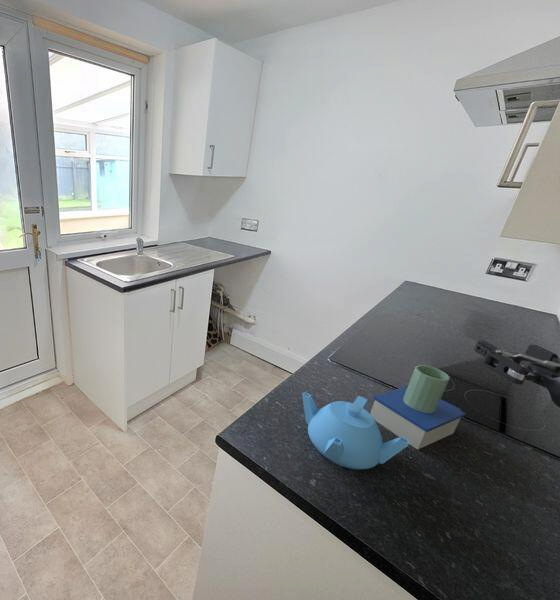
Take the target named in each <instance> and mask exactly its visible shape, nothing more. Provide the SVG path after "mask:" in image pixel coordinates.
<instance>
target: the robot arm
mask: <svg viewBox="0 0 560 600" xmlns="http://www.w3.org/2000/svg"><path fill="white" fill-rule="evenodd" d="M473 350H474V352H476V353H477V354H479V355H481V356H482V357H483V360H482V362H481V365H482V366H484V367H485V368H488V369H490V370H491V371H493V372H494V373H495V374H498V375H499V376H501V377H502V378H505V379H507V380H508V381H510V382H511V383H513V384H515V385H519V386H520V385H521V386H522V385H523V384H524V382H525V381H528V382H531V383H532V384H533V385H535V386H537V387H541V388H543V389H547V391H548V393H549V396H550V399H551V401H552V402H553V404H554V405H555V406H556V407H558V408H560V354H558V353H554V352H553V351H551V350H549V349H546V348H544V347H542V346H539V345H537V344H529V345H528V347H527V349H526V350H525V352H524V354H523V353H517V354H514V353H510V352H507V351H504V350H502V349H500V348H499V347H497V346H495V345H493V344H491V343H489V342H487V341H485V340H477V342H476V344H475V346H474V348H473ZM523 362H527V364H526V366H525V365H523V364H522V363H523Z"/></svg>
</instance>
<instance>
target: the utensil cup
mask: <svg viewBox="0 0 560 600" xmlns="http://www.w3.org/2000/svg"><path fill="white" fill-rule="evenodd" d="M450 377H451V376H449V373H446V372H445V371H443V370H441V369H439V368H436V367H433V366H430V365H425V364H418V365H416V366H415V367H414V370H413V373H412V375H411V378H410V380H409V382H408V385H407V386H408V387H407V390H406V392H405V395H404V398H403V401H404V402H405V404H406V405H408V406H409V407H411V408H413V409H415V410H417V411H419V412H423V413H434V412H435V410H436V408H437V406H438V404H439V401H440V399H442V397H443V396H444V393H445V391H446V388H447V386H448V383H449V381H450V379H451V378H450Z"/></svg>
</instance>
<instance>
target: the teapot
mask: <svg viewBox="0 0 560 600" xmlns="http://www.w3.org/2000/svg"><path fill="white" fill-rule="evenodd" d="M301 397H302V405H303V411H304V412H303V413H304V418H305V423H306V424H307V433H308V437H309V439H310V441H311V442H312V445H313V446H314V447H315V448H316V450H317V451H318V452H319V453H320V454H321V455H322V456H323V457H324V458H325V459H327V460H328V461H330V462H331V463H334V464H335V465H338V466H339V467H342V468H346V469H350V470H368V469H372V468H374V467H376V466H377V465H378V464H381V465H383V464H385V463H386V462H388V461H389V460H390V459H392V458H393V457H394V456H396V455H397V454H399V453H400V452H402V451H403V450H404V449H406V448H407V447H408V446H409V445H410V444H409V440H407V439H405V438H403V437H401V436H400V437H396V438H394V439H391V440H388V441H386V442H384V441H383V438H382V434H381V431H380V429H379V426H378V424H377V421H375V420H374V418H373V417H372V415H371V414H370V413H371V412H369V411H368V410H367V406H368V403H369V399H367V398H365V397H364V396H361V395H358V396H357V397H356V398H355V400H354V401H353V402H350V401H345V400H337V401H333V402H330V403H328V404H326V405H324V406H323V407H321V408H319V409H318V407H317V405H316V403H315V401H314V399H313V397H312V394H310V393H308V392H306V391H303V393H302V394H301Z"/></svg>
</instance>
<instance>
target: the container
mask: <svg viewBox="0 0 560 600" xmlns="http://www.w3.org/2000/svg"><path fill="white" fill-rule="evenodd" d="M407 387H408V385H405V386H402V387H399V388H396V389H393V390H389V391H387V392H383V393H379V394H377V395H374V396H373V400H374V401H373V405H372V407H371V410H370V412H369V413H370V414H371V415H372V417H373V418H374V420H375V422H376V423H378V424H379V425H381V426H383V427H384V428H385V429H387V430H388V431H389V432H392V434H393V435H395V436H397V438H399V437H400V436H401V437H403V438H405V439H407V440H409V445H410V446H412V447H413V448H414V449H415V450H420V449H422V448H424V447H427V446H429V445H431V444H434V443H436V442H438V441H440V440H442V439H444V438H447V437H449V436H451V435H454V433H455V431H456V429H457V427H458V425H459V422H460V421H461V419H462V418H463V417H465V416H466V413H465V412H463V411H462V408H459V407H457V406H455V405H453V404H451V403H450V402H448V401H445V400H444V399H442V398H441V399H440V401H439V404H438V406H437V408H436V410H435V412H434V413H423V412H419V411H417V410H415V409H413V408H411V407H409V406H408V405H406V404H405V402H404V401H403V398H404V395H405V392H406V390H407Z"/></svg>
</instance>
